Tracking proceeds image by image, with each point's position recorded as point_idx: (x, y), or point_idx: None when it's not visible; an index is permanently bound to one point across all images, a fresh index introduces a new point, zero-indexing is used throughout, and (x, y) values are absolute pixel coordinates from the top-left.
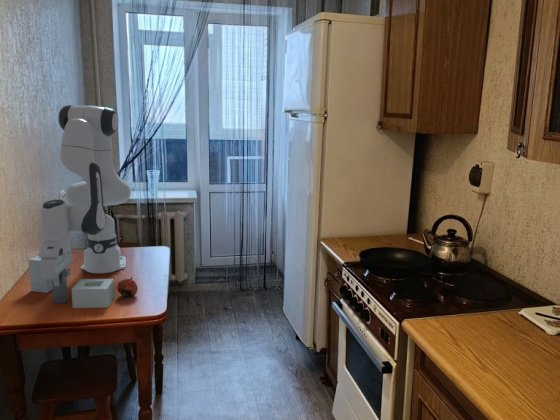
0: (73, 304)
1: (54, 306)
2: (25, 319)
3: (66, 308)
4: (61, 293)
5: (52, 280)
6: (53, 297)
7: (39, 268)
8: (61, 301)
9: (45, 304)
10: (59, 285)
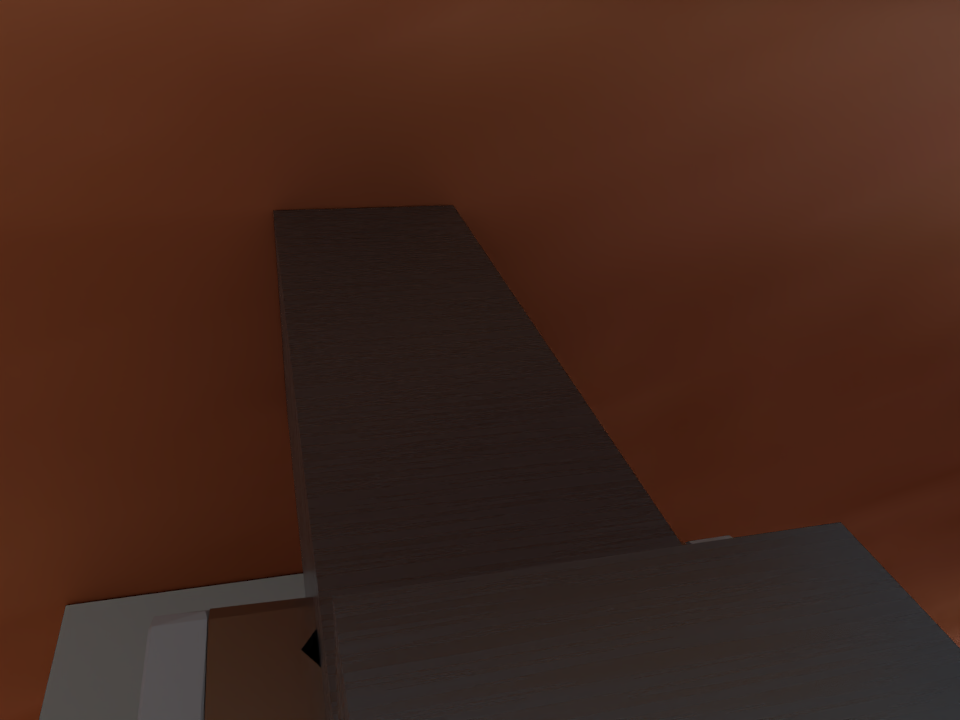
0: (55, 672)
1: (106, 287)
2: None
3: (35, 524)
4: (297, 498)
5: (325, 630)
6: (281, 272)
7: None
8: (285, 377)
9: (205, 46)
10: None
